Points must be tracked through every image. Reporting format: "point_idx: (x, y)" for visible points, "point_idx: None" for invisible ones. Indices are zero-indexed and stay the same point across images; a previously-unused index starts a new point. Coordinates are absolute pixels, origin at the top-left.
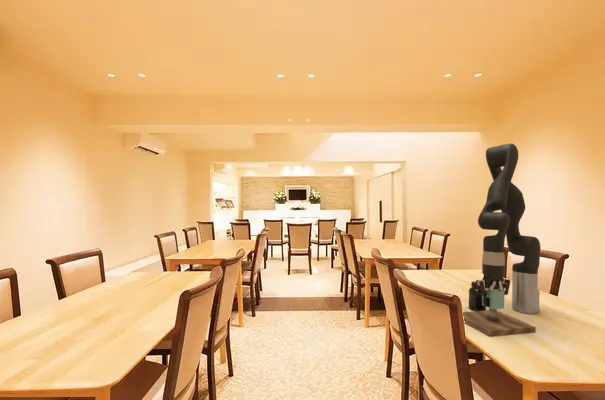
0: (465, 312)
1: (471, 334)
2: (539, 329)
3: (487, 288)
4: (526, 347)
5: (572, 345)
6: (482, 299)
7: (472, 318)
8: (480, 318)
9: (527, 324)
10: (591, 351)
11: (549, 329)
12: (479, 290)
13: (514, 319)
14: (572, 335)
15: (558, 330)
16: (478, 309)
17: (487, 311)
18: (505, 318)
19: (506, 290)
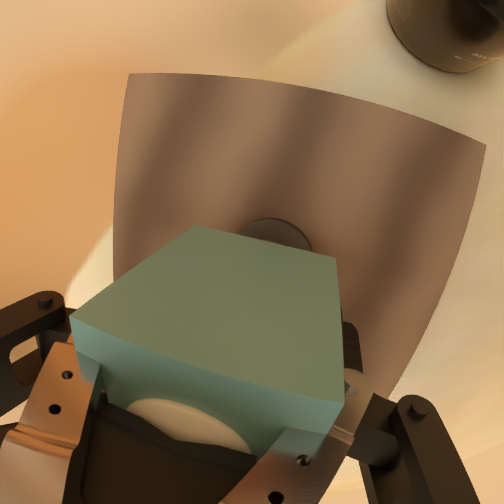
0: (201, 82)
1: (80, 274)
2: (433, 376)
3: (131, 381)
4: None
5: (355, 463)
6: (168, 246)
7: (153, 189)
8: (203, 209)
9: (384, 381)
10: (353, 483)
11: (465, 386)
12: (14, 327)
13: (408, 316)
14: (456, 432)
15: (477, 399)
16: (411, 46)
17: (397, 132)
18: (375, 284)
19: (371, 494)
